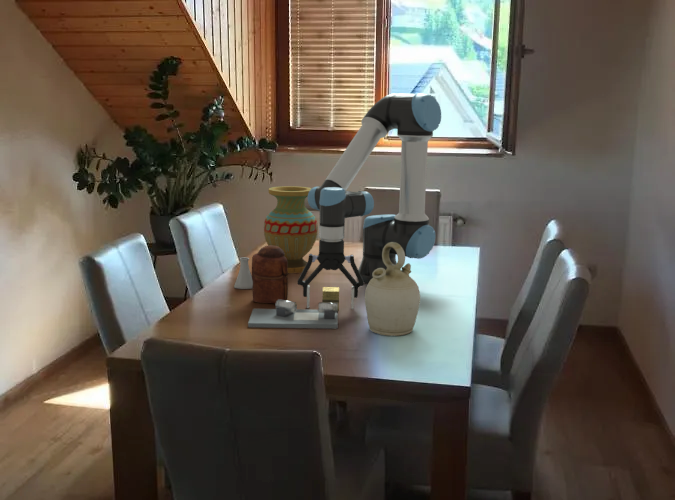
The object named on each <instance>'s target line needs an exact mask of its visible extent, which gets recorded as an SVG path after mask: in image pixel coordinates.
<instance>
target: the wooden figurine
mask: <svg viewBox="0 0 675 500" xmlns="http://www.w3.org/2000/svg"><path fill="white" fill-rule="evenodd" d="M284 255H285V253H284V251H283V250H282V249H281V248H279V247H278V246H274V245H268V244H267V245H264V246H263V247H261V248H260V249H259V250H258V252H257V253H255V254H253V256H252V259H251V276H252V280H253V286H252V288H251V289H252V301H253V302H255V303H259V304H260V303H261V304H274V305H276V301H277V300H278V299H281V300H286V301H288V297H289V296H288V295H289V294H288V293H289V292H288V291H289V289H288V287H289V286H288V285H289V282H288V281H289V279H288V277H287V276H288V274H289V273H288V269H287V266H288V261H287V259H286V257H284Z"/></svg>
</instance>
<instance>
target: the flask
mask: <svg viewBox="0 0 675 500" xmlns="http://www.w3.org/2000/svg"><path fill="white" fill-rule="evenodd" d="M249 260H250V257H246V256H245V257H244V256H243V257H242V256H241V257H239V261H240V268H239V271H238V274H237V276H236V277H237V278H236V280H235V283H234V287H233V288H234V289H237V290H238V289H239V290H249V289H250V290H251V289H252V286H253V280H252V272H251V270H250V267H249Z"/></svg>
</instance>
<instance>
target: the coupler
mask: <svg viewBox="0 0 675 500" xmlns="http://www.w3.org/2000/svg"><path fill="white" fill-rule="evenodd" d="M321 297H322V303H338V312H339V309H340V287H339V286H338V287H337V286H323V287H322V296H321Z"/></svg>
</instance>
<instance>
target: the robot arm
mask: <svg viewBox="0 0 675 500" xmlns="http://www.w3.org/2000/svg"><path fill="white" fill-rule="evenodd" d="M441 121H442V109H441V106H440V104H439V102H438V100H437V99H436V98H435V97H434V96H433V95H432V94H427V93H420V92H418V93H399V92H397V93H396V92H395V93H390V94H387V95H385V96H383V97H382V98H381V99H379V100H377V101H376V103H374V105H372V106H371V107H370V109H368V111H367V112H366V113H365V115H364V116H363V118H362V119H361V126H360V127H359V129H358V130H357V132H356V134H355V135H354V136H353V138H352V140H351V141H350V142H349V144H348V145H347V146H346V149H345V150H344V151H343V153H342V154H341V156H340V157H339V159H338V160H337V161H336V163H335V165H334V167H333V168H332V169H331V171H330V172H329V174H328V175H327V177H326V179H325V180H324V182H322V184H321V186H320V185H318V186H313V187H312V189H311V190H310V191H309V193H308V197H307V202H308V203H307V204H308V205H309V207H310V208H311V209H312V210H316V211H319V225H318V230H319V231H318V234H319V235H318V238H319V241H318V255H316V254H312V253H310V254H308V259H307V261H306V262H307V264H306V266H305V268H304V270H303V272H300V275H299V278H298V279H297V285H299V286H302V289H303V290H302V294H303V295H302V296H303V297H304V298H306V309H310V302H311V301H310V297H311V296H310V295H311V294H310V292H311V291H310V290H311V285H310V284H311V282H312V281H313V280H314V279H315V278H316V277H317V276H318V275H319V273H320V272H322V271H323V270H325V271H330V270H332V271H337V270H339V271H340V272H341V273H342V274H343V276H344V277H345V278H346V279H347V280H348V281H349V283H350V284H351V285H352V286H351V294H350V295H351V297H350V298H351V300H350V308H351V310H354V309H355V299H357V298H359V288H360V287H363V286H365V284H368V283H369V281H370V280H371V279H372V278H373V276H372V273H373V271H374V270H376V269H378V268H384V269H385V270H386V269H387V267H386V266H385V264H384V262H383V259H382V251H383V248H384V246H385V245H386V244H388V243H390V242H396V243H398V244H399V245H400V246H401V247H402V248H403V250H404V253H405V258H409V259H418V260H420V259H423V258H425V257H427V256H428V255H429V254H430V253H431V251H432V250H433V247H434V245H435V243H436V231H435V229H434V227H433V226H431V225H430V218H429V217H428V215H427V214H426V191H427V187H426V186H427V169H428V168H427V167H428V147H429V145H428V144H429V141H430V139H431V138H433V135H434V132H435V131H436V130H437V129H438V128H439V126H440V124H441ZM394 129H395V130H397V133H396V136H397V137H398V138H399V139H400V140H401V145H400V146H401V150H400V151H401V152H400V153H401V154H400V176H399V177H400V178H399V206H398V213H397V214H391V213H389V214H388V213H387V214H375V215H374V214H373V215H369V214H371V213H372V212H373V210H374V207H375V201H374V198H373V195H372V194H371V193H370V192H368V191H365V190H363V191H362V190H361V191H360V190H358V191H350V190H348V189H349V187H350V185H351V183H353V181H354V179H355V178H356V176H357V175H358V173H359V172H360V170H361V169H362V167H363V166H364V165H365V162H366V161H367V159H369V157H370V155H371V154H372V152H373V150H374V149H375V147H376V146H377V144H378V143H379V142H380V140H381V138H385V137H386V136H387V135H388V133H389V132H391V131H392V130H394ZM367 215H368V216H367ZM364 216H366V217H365V218H364V219H363V227H362V259H361V262H360V264H359V266H357V264H356V262H355V256H354V254H350V255H345V241H344V240H343V239H344V238H345V221H346V219H347V218H355V217H364ZM396 256H397V252H396V251H395V250H394V249H393V248H391V249H390V251H389V258H390V261H391V262H392V263H393V264H395V265H396V264H397V262H398V261H397V257H396ZM316 260H317V262H319V264H318V266H317V267H315V269H314V270H313V271H312V272H311V274H310V275H309V276H307V274H308V271H309V270H310V268H311V266H312V263H314V262H316ZM346 261H347V263H349V264H350V266H351V268H352V270H353V272H354V274H355V277H356V279H355V278H354V277H353V276H352V274H351V273H350V272H349V271H348V270H347V268H346V267H345V266H344V262H346ZM358 267H359V268H358ZM306 276H307V278H306ZM305 278H306V279H305ZM304 279H305V280H304ZM356 280H357V281H356Z"/></svg>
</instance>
